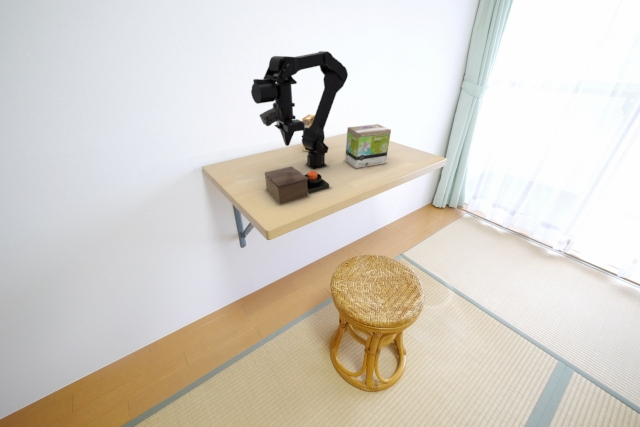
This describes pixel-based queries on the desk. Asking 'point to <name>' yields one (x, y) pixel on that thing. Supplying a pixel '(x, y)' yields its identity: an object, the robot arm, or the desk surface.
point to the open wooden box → (287, 191)
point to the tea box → (367, 145)
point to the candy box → (308, 122)
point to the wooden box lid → (285, 176)
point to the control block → (316, 184)
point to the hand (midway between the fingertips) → (287, 145)
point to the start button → (312, 175)
